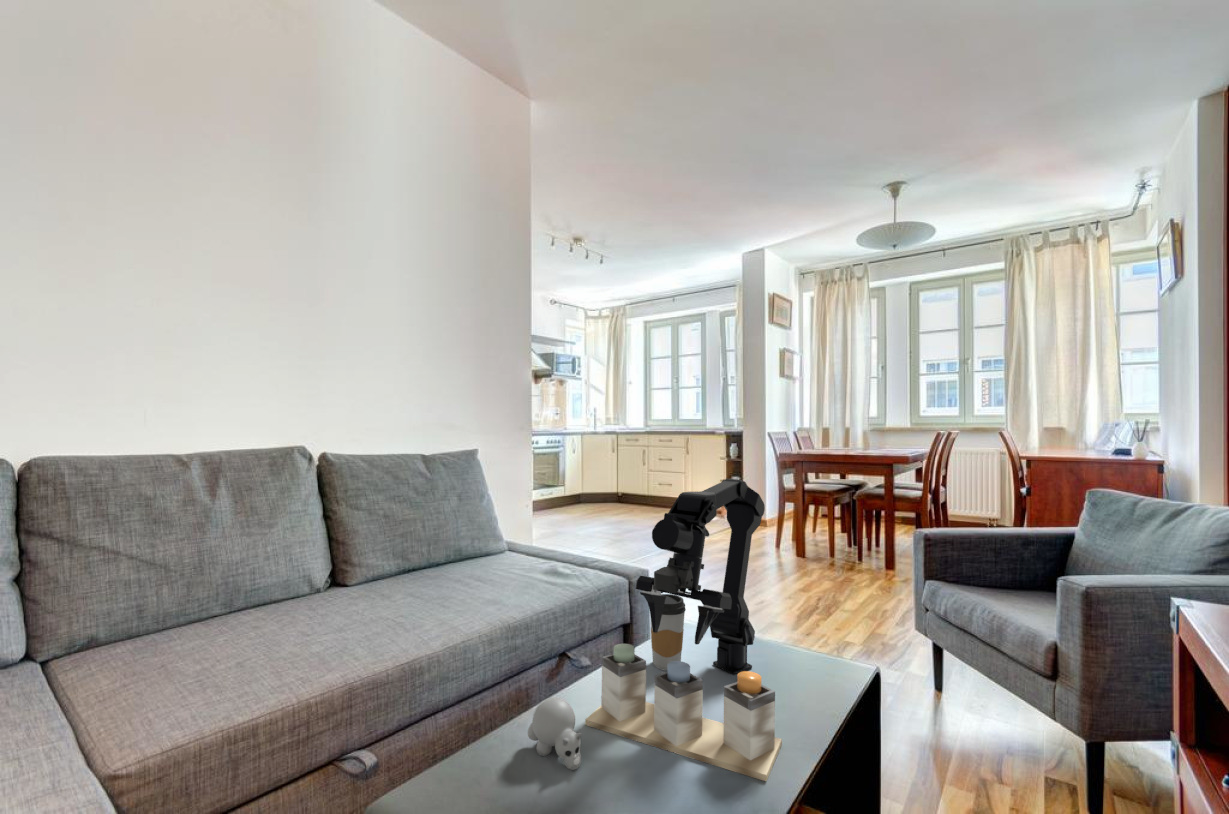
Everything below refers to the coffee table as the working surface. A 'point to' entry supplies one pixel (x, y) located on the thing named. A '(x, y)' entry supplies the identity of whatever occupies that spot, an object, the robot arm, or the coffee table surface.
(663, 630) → the coffee cup
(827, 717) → the coffee table surface
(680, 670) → the slate button
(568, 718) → the toy rhinoceros
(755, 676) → the orange button
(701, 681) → the button board
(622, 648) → the sage button
